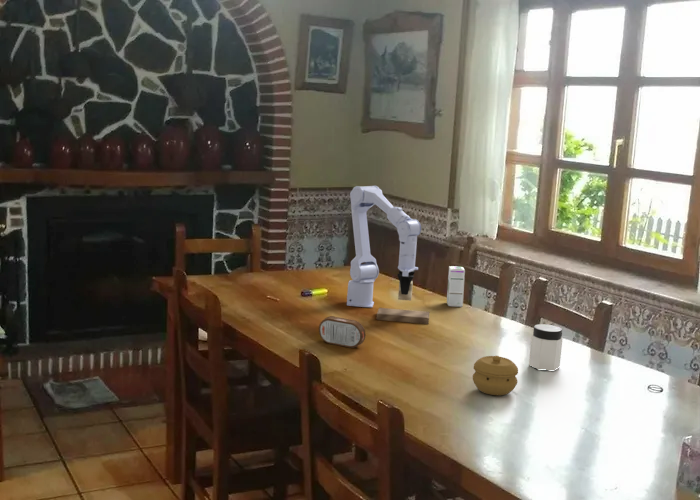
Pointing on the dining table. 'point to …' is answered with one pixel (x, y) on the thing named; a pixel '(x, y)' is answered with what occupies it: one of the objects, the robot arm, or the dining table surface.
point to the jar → (546, 347)
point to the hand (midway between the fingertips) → (404, 292)
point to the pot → (495, 375)
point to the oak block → (403, 296)
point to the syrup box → (455, 286)
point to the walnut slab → (403, 315)
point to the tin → (342, 332)
